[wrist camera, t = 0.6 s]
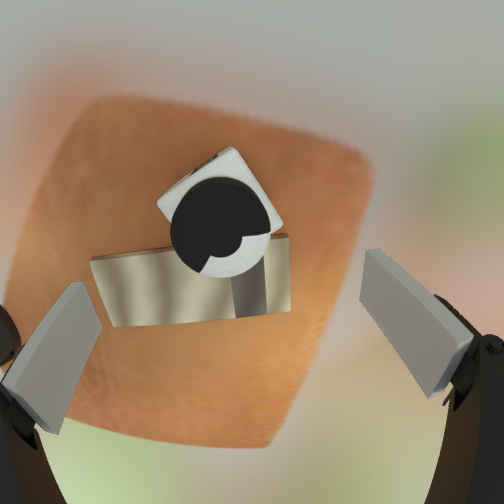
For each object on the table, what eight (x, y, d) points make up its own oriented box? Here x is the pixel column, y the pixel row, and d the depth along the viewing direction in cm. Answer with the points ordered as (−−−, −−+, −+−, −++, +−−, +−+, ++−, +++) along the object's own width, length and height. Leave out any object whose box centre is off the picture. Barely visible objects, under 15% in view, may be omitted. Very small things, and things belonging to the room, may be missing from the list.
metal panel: (115, 321, 34) (113, 327, 33) (92, 257, 30) (88, 261, 28) (288, 305, 35) (290, 310, 34) (287, 233, 31) (289, 237, 30)
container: (170, 186, 27) (134, 223, 16) (231, 144, 26) (239, 149, 15) (211, 241, 31) (207, 309, 19) (270, 204, 30) (303, 252, 18)
